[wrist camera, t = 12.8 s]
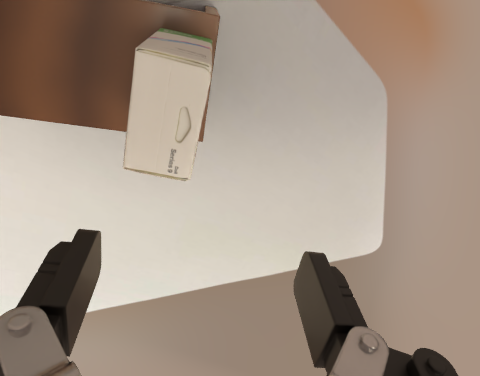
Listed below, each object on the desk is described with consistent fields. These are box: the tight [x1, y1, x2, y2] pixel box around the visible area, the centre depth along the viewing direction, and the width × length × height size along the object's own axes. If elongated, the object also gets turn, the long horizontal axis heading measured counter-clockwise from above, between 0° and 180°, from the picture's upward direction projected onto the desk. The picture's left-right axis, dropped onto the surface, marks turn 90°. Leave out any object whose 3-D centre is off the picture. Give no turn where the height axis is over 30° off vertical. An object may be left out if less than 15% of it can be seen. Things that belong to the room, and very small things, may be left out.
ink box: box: [123, 28, 212, 181], centre depth 28 cm, size 9×5×12 cm, turn 166°
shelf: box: [0, 0, 220, 142], centre depth 34 cm, size 22×12×15 cm, turn 80°
